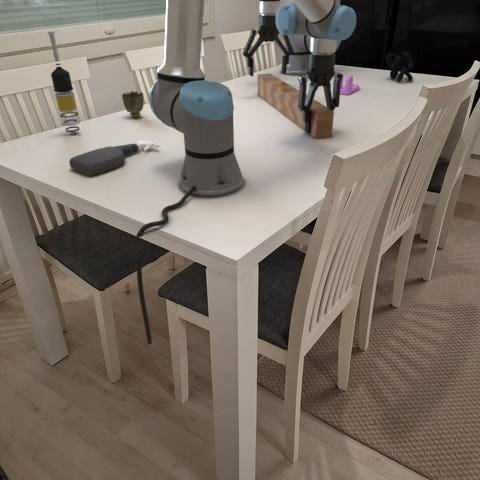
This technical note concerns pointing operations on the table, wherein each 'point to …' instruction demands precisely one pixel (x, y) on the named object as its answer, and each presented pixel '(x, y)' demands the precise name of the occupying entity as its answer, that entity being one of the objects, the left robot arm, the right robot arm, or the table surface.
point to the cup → (133, 103)
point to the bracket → (348, 86)
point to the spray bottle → (106, 157)
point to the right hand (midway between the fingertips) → (267, 74)
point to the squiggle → (399, 66)
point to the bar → (295, 105)
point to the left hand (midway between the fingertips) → (316, 130)
